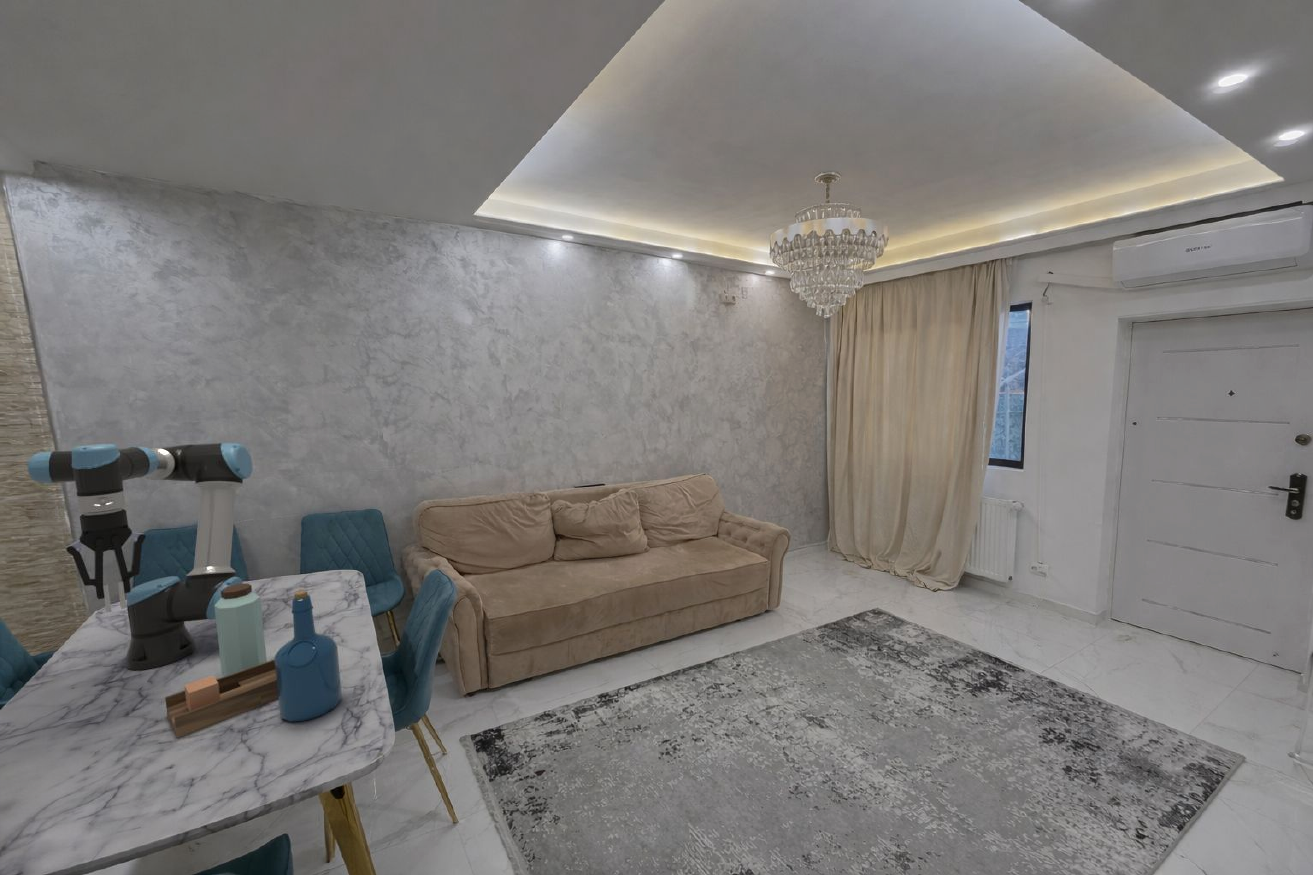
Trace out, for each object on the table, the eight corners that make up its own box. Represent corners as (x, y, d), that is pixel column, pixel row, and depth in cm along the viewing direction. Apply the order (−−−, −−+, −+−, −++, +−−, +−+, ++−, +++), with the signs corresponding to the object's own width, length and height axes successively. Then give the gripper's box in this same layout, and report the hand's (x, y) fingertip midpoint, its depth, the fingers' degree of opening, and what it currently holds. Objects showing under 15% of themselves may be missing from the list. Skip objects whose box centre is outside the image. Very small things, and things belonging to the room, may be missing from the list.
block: (186, 706, 129) (184, 684, 129) (215, 695, 134) (213, 675, 133) (191, 714, 126) (188, 693, 125) (220, 703, 130) (218, 682, 130)
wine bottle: (286, 699, 136) (275, 587, 133) (345, 686, 141) (336, 578, 138) (272, 731, 123) (259, 608, 120) (337, 716, 128) (327, 597, 125)
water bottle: (242, 685, 143) (233, 596, 140) (212, 681, 145) (202, 593, 142) (276, 665, 152) (267, 582, 150) (247, 662, 154) (238, 580, 152)
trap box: (167, 716, 130) (164, 693, 129) (307, 664, 152) (305, 645, 152) (177, 738, 121) (174, 713, 121) (323, 680, 144) (321, 659, 144)
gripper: (55, 520, 114) (70, 624, 117) (149, 507, 126) (161, 602, 128) (54, 515, 119) (68, 615, 122) (144, 503, 130) (156, 594, 133)
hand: (116, 608), depth 125 cm, fingers closed
